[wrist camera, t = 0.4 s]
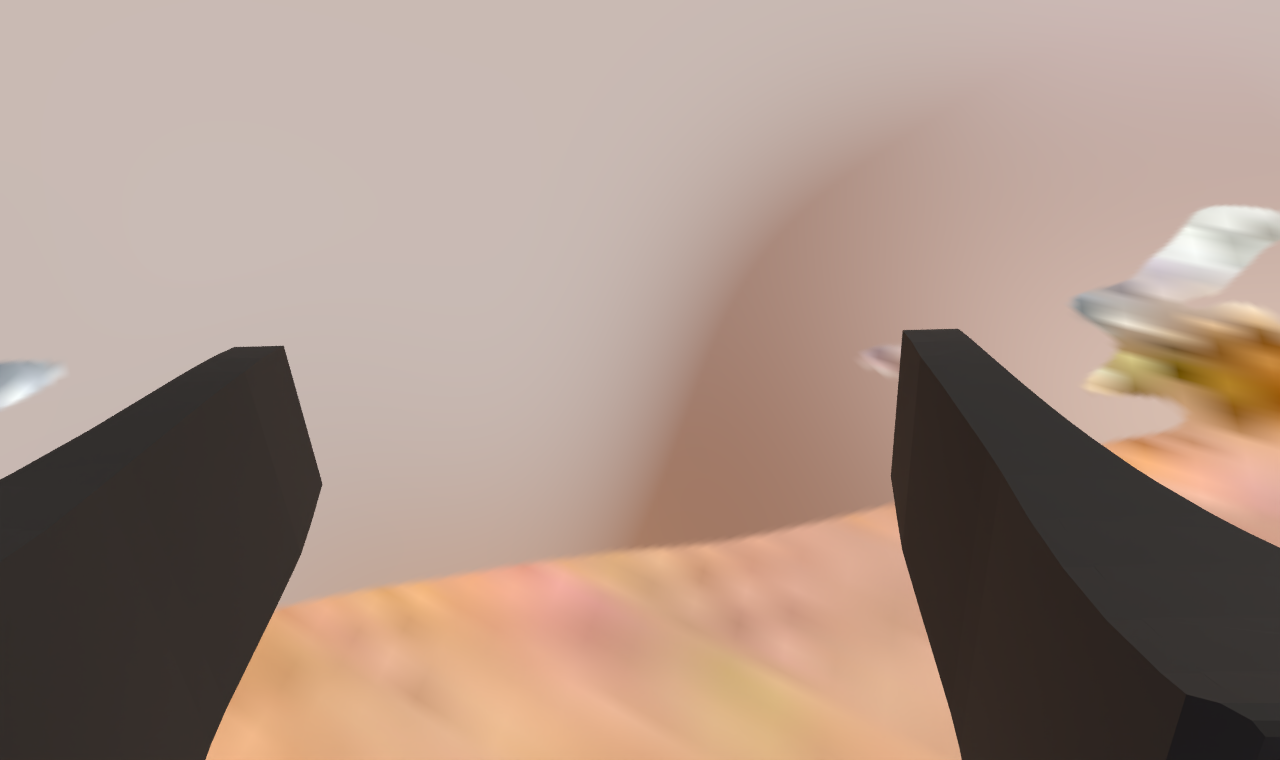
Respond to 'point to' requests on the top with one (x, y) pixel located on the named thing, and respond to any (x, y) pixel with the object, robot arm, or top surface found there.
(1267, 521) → the top surface
